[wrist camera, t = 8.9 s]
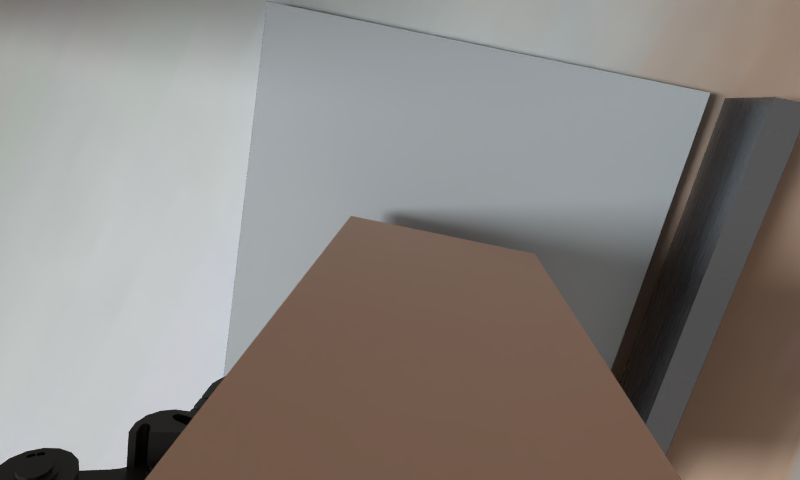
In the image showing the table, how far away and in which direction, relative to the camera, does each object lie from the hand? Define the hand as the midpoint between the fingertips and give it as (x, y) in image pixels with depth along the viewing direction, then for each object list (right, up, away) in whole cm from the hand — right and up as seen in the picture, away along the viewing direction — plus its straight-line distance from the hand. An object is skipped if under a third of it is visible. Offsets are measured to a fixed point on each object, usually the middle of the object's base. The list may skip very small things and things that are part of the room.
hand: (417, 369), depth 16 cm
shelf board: (0, +1, +3) cm, 3 cm away
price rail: (+8, -1, +3) cm, 9 cm away
